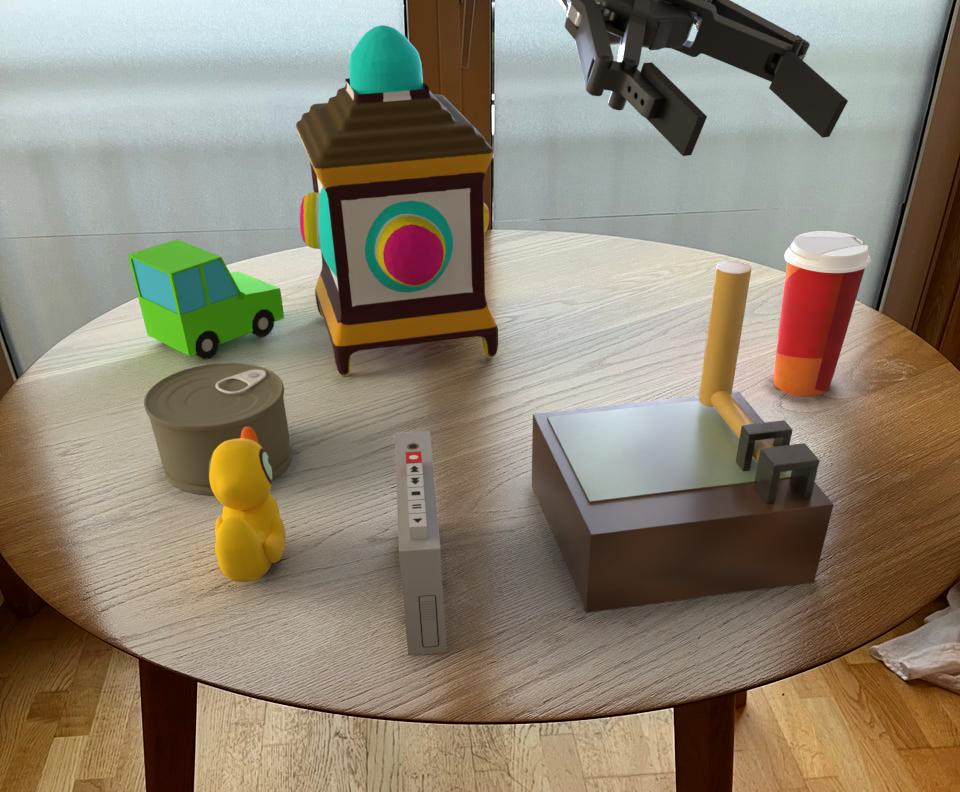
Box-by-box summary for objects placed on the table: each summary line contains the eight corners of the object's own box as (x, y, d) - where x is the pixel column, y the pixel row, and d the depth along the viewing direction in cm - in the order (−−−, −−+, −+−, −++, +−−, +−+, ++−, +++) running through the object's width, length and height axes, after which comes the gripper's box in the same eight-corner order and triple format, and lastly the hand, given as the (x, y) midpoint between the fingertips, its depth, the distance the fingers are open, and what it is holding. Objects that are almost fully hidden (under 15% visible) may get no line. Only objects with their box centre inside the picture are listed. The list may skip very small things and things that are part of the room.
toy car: (295, 330, 113) (282, 240, 106) (197, 369, 106) (176, 275, 99) (241, 306, 118) (226, 220, 112) (145, 342, 111) (122, 252, 105)
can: (134, 467, 90) (115, 398, 86) (237, 417, 97) (224, 350, 93) (218, 512, 85) (202, 440, 80) (321, 455, 91) (311, 386, 87)
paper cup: (820, 363, 104) (850, 225, 95) (854, 397, 98) (889, 254, 89) (749, 370, 103) (772, 232, 94) (778, 405, 97) (806, 261, 88)
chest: (726, 462, 89) (744, 355, 82) (814, 581, 76) (843, 465, 69) (531, 486, 87) (533, 377, 80) (586, 613, 73) (593, 495, 67)
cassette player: (403, 530, 82) (393, 421, 75) (435, 527, 82) (429, 419, 76) (408, 654, 70) (397, 538, 64) (446, 652, 70) (439, 535, 64)
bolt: (723, 392, 83) (743, 259, 76) (783, 466, 74) (813, 323, 67) (693, 395, 83) (711, 262, 76) (751, 470, 74) (777, 327, 67)
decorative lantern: (514, 363, 105) (515, 37, 86) (328, 387, 102) (285, 53, 82) (469, 293, 120) (461, 1, 101) (306, 312, 117) (264, 14, 97)
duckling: (233, 520, 84) (210, 412, 77) (297, 518, 84) (279, 411, 77) (208, 604, 75) (179, 491, 68) (279, 602, 75) (257, 489, 68)
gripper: (703, 16, 86) (860, 159, 78) (458, 28, 75) (610, 197, 67) (740, -83, 80) (915, 62, 72) (479, -84, 69) (649, 86, 61)
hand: (768, 128), depth 69 cm, fingers open, 13 cm apart
